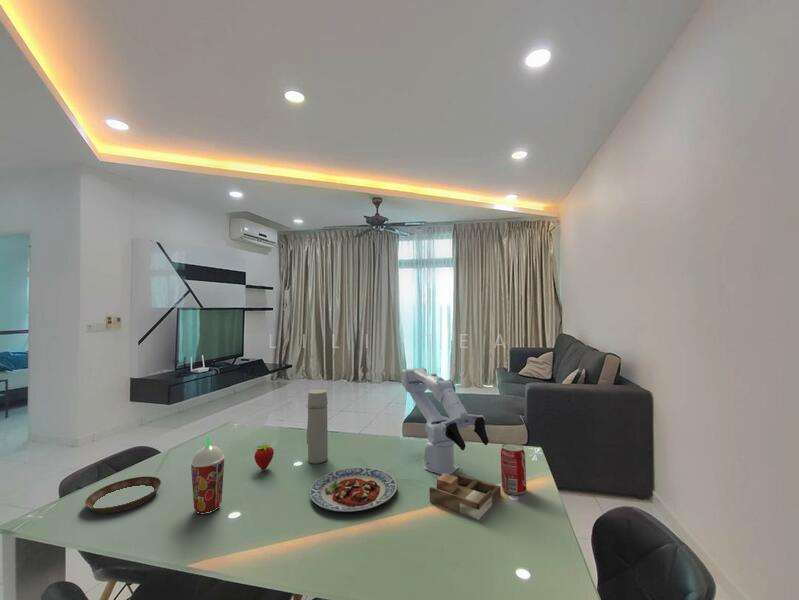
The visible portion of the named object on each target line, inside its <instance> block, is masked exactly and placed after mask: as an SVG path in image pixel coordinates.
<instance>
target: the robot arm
mask: <svg viewBox="0 0 799 600" xmlns="http://www.w3.org/2000/svg"><path fill="white" fill-rule="evenodd" d="M400 381H401V384H402V386H403V388H404V389H405V391H406V392H407V393H409V395H410V396H411V399H412V400H413V402H414V404H415V405H416V407H417V408H418V410H419V411H420V413H421V414H422V415H423V417H424V420H426V423H425V427H424V429H425V433H426V436H427V439H428V441H427V442H426V445H425V449H424V458H425V459H424V462H425V463H424V465H425V466H424V468H423V469H424V470H425V471H429V472H433V473H436V474H438V475H439V474H440V475H443V474H444V473H446V474H449V475H453V474H454V473H455V472H456V471H457V470H459V468H460V466H458V465H455V444H456V446H458V448H459V449H460V450H461V451H462V452H463V451H465V449H466V443H465V441H464V439H463V437H462V435H461V433H460V430H462V429H464V428H467V427H469V426H471V425H474V426H473V427H474V428H473V429H474V430H473V432H474V433H475V434H476V435H477V436H478V437H479V439H480V440H481V442H482V444H483V445H484V446H487V445H488V444H489V442H490V441H489V438H488V435H487V431H486V424H485V421H486V418H485V416H484V415H483V414H472V413H468V412H467V410H466V408H465V406H464V404H463V403H462V402H461V399H460V398H459V396H458V395H457V393H456V390H457V389H456V384H455V383H454V381H453V380H452V379H451V378H450V379H447V380H445V379H443V377H441V376H438V375H437V373H435V372H434V373H428V371H427V368H425V367H418V368H403V369H402V370H401V372H400ZM427 390H429V391H431V392H432V394H433V398H435V400H437V401H438V403H440V404H441V405H442V407H443V408H444V410H445V412H446V414H447V415H448V416H444V415H441V413H440V412H439V411H438V409H437V408H436V406H435V405H434V404H433V402H432V400H431V399H430V398H429V397H428V395H427V394H426V392H427Z"/></svg>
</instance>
